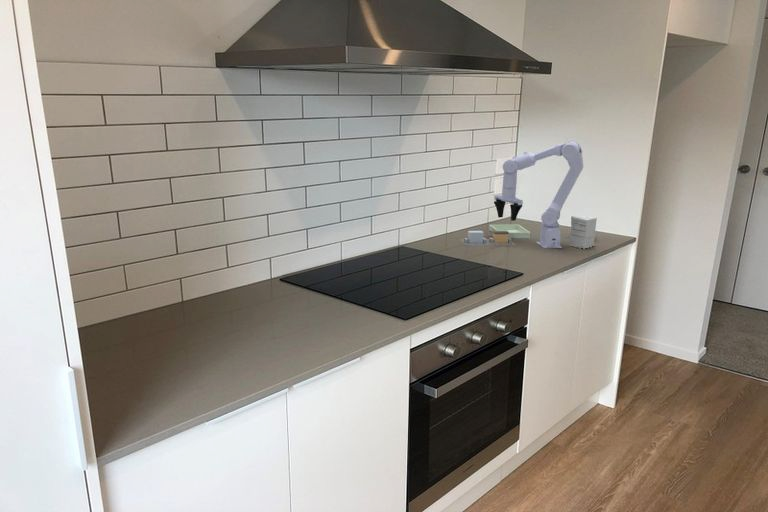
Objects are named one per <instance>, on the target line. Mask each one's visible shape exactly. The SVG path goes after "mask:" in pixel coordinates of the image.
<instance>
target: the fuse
mask: <svg viewBox="0 0 768 512" xmlns="http://www.w3.org/2000/svg"><path fill="white" fill-rule="evenodd" d="M484 232H485V231H483V230H468V231H467V238H468V239H469V243H483V238H484Z"/></svg>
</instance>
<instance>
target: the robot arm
mask: <svg viewBox="0 0 768 512" xmlns="http://www.w3.org/2000/svg"><path fill="white" fill-rule="evenodd" d="M551 156H557V157H561V156H562V157H563V158H564V159H565V160H566V161H567V163H568V166H569V170H568V171H567V173H566V175H565V176H564V178H563V180H562V182H561V184H560V186H559V188H558V190H557V191H556V194H555V196H554V198H553V199H552V201H551V203H550V205H549V206H548V208H547V209H546V210H545V211H544V212H543V213H542V215H541V218H540V219H541V222H540V223H541V225H540V232H539V233H540V235H539V241H536V242H535V243H536V244H537V245H539V246H541V247H542V248H545V249H552V248H553V249H562V248H563V246H561V240H562V232H561V230H560V228H559V227H560V226H559V225H560V224H559V222H558V220H560V218H561V210H562V209H563V206H564V204H565V203H566V201H567V198H568V196H569V195H570V193H571V191H572V189H573V188H574V186H575V184H576V182H577V180H578V179H579V176H580V175H581V172H582V171H583V169H584V162H583V161H584V158H583V150H582V147H581V146H580V144H579V142H577V141H574V140H573V141H568V142H564V143H560V144H555V145H553V146H551V147H549V148H546V149H543V150H540V151H538V152H536V153H533V152H531V151H529V152H528V151H525V152H523V154H521V155H518V156H513V157H512V158H510V159H507V160H505V161H504V162H503V164H502V169H503V176H502V177H503V178H502V190H501V194H500V195H499V194H497V195H494V199H493V200H494V201H493V204H494V206H495V209H496V211H497V217H498V219H499V218H504V217H503V216H504V210H505V205H506V204H507V203H511V204H509V207H510V221H513V222H514V221H516V220H517V218H518V214H519V213H520V210H521V209H522V207H523V204H524V203H523V202H524V200H522V199H520V198H517V197H516V194H517V193H516V191H517V181H518V180H517V179H518V171H521V170H524V169H527V168H530V167H532V166H535V164H536V163H537V161H540V160H543V159H546V158H549V157H551Z"/></svg>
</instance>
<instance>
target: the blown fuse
mask: <svg viewBox="0 0 768 512" xmlns="http://www.w3.org/2000/svg"><path fill="white" fill-rule="evenodd" d="M508 236H509V232H508V231H493V233H492V238H493V239H494V243H508Z"/></svg>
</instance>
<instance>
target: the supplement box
mask: <svg viewBox="0 0 768 512" xmlns="http://www.w3.org/2000/svg"><path fill="white" fill-rule="evenodd" d="M571 217H572V216H571ZM597 221H598V219H597V217H594V216H588V215H583V214H580V215H577V216H574V217H572V227H571V226H570V227H571V230H570V239H569V246H570V245H572V246H571V247H573V246H576V247H575V248H577V247H580V248H579V249H581V248H583V249H582V250H586V249H585V248H587V249H589V247H590V248H593V247H592V246H595V238H596V228H597V227H596V226H597Z"/></svg>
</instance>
